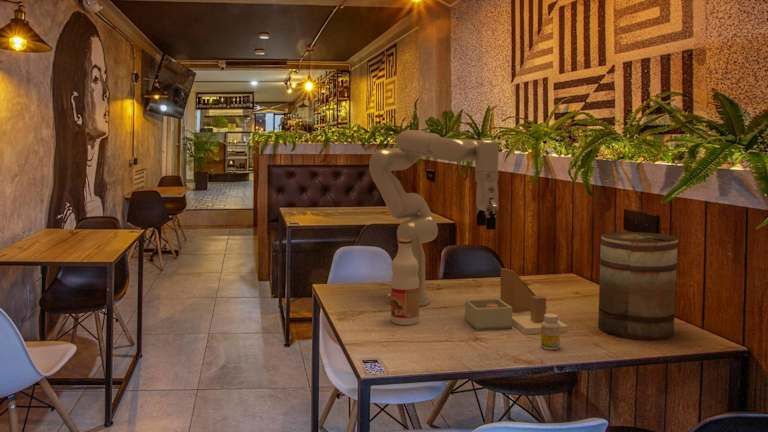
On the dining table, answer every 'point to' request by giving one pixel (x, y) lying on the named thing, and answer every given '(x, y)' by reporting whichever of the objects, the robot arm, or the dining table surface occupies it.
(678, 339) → the dining table surface
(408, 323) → the fruit juice
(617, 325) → the barrel
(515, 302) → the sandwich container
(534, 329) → the lid
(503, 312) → the box
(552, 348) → the supplement bottle
